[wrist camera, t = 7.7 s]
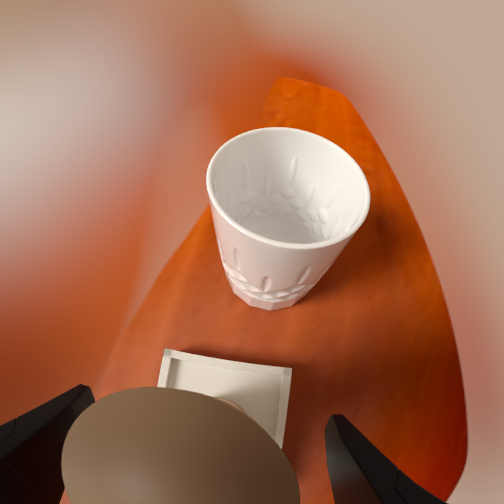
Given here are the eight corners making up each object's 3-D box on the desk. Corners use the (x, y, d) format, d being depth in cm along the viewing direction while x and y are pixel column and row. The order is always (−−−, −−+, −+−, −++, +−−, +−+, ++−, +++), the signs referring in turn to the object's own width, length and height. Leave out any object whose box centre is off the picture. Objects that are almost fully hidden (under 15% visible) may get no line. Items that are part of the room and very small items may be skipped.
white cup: (221, 223, 23) (215, 123, 14) (315, 228, 23) (351, 135, 15) (214, 316, 19) (195, 244, 11) (324, 318, 20) (387, 252, 11)
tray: (270, 490, 13) (273, 498, 12) (152, 470, 13) (144, 476, 12) (287, 370, 18) (292, 368, 16) (171, 352, 18) (164, 348, 16)
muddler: (261, 454, 14) (317, 562, 2) (187, 464, 13) (98, 567, 2) (246, 388, 16) (271, 369, 5) (174, 398, 15) (46, 387, 4)
